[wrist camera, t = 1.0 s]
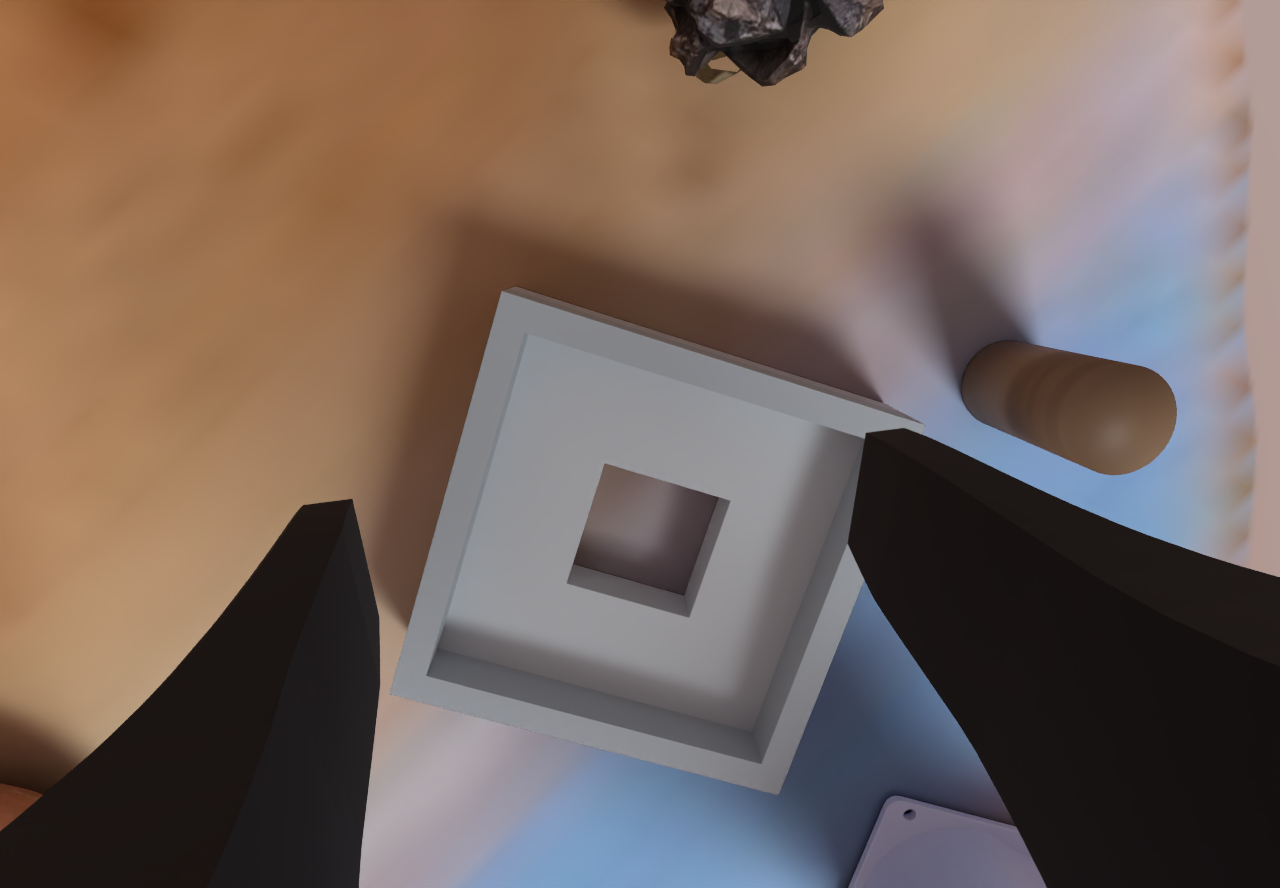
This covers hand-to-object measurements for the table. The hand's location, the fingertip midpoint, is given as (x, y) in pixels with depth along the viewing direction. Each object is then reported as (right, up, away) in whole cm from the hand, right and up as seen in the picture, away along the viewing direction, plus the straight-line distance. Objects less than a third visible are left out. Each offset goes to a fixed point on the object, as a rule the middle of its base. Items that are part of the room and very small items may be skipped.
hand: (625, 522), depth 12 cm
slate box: (0, -2, +19) cm, 19 cm away
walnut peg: (+14, +3, +19) cm, 23 cm away
